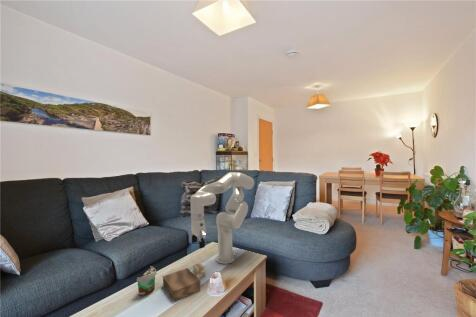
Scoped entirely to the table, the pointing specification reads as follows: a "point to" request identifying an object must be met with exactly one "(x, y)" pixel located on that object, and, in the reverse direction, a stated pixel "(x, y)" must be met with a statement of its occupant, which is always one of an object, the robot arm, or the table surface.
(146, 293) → the food container
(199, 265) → the birch block
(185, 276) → the walnut box
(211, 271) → the table surface
